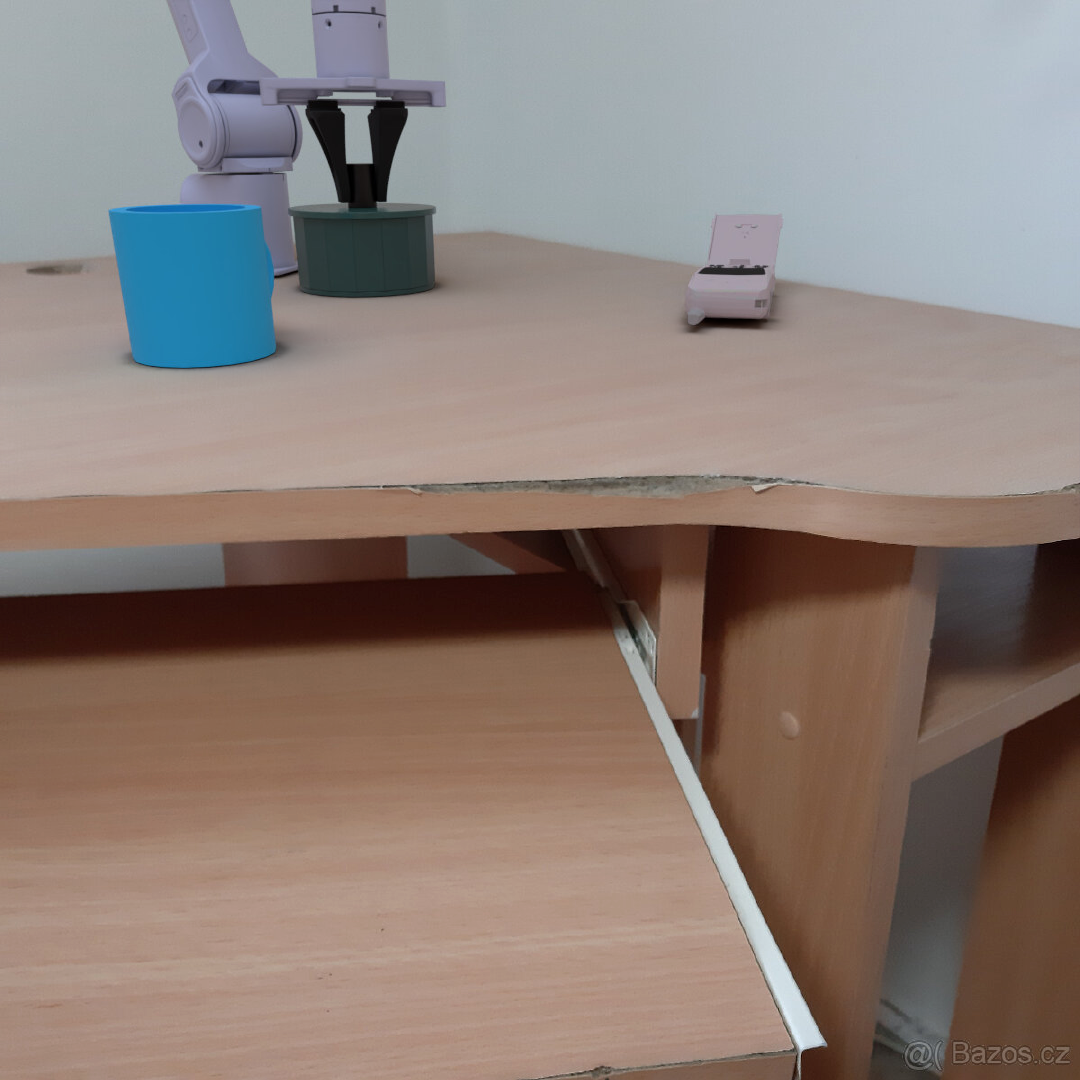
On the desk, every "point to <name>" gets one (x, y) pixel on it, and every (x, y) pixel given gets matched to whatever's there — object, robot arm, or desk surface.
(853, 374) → the desk surface
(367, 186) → the lid
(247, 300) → the mug
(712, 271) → the pale pink hinged device
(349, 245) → the tin
